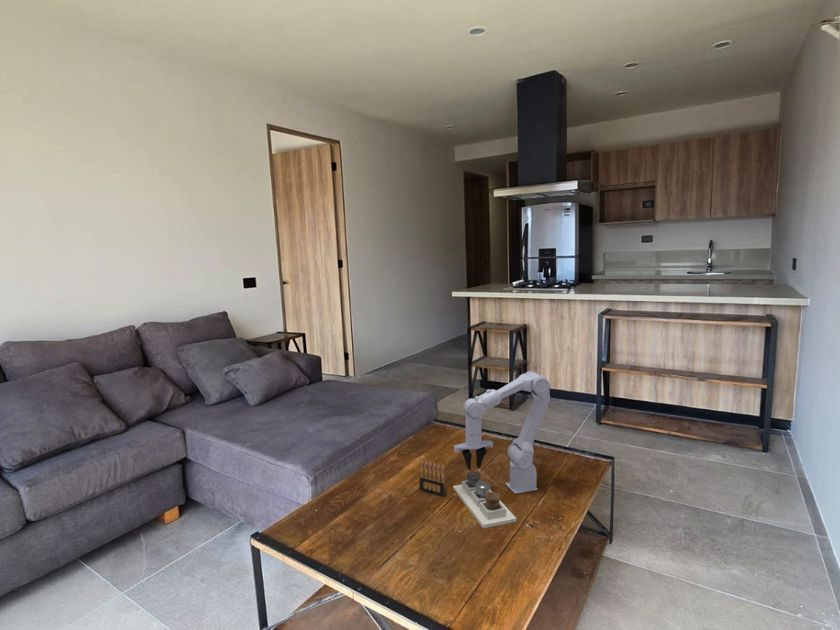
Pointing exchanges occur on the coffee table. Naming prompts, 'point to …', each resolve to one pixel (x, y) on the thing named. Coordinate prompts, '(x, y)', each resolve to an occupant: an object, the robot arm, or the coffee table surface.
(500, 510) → the mount board
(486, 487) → the knob steel
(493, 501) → the knob walnut
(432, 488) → the ammunition clip
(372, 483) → the coffee table surface
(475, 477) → the knob graphite
